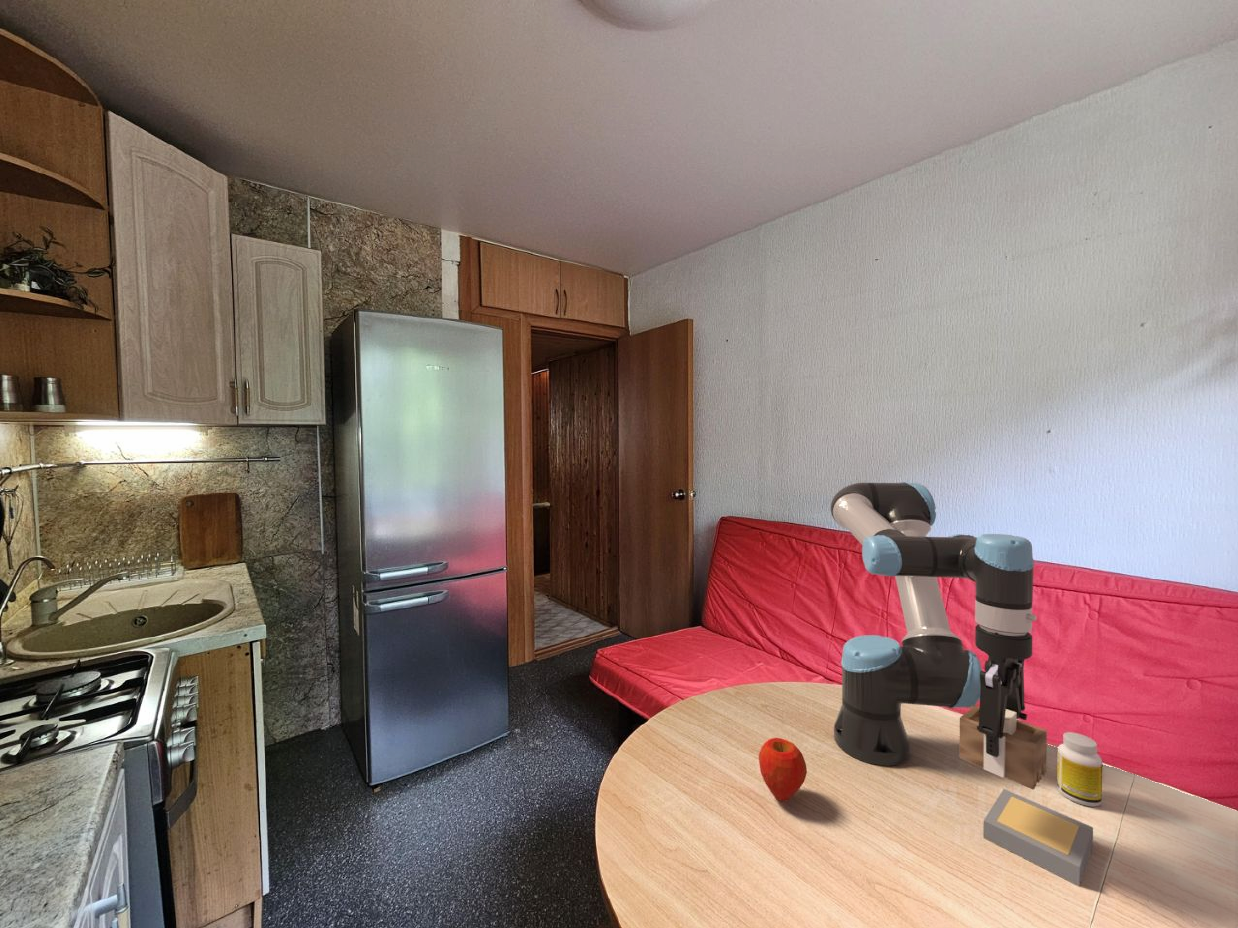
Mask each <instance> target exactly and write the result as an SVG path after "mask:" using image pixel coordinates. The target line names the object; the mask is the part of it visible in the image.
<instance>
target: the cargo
mask: <svg viewBox="0 0 1238 928" xmlns="http://www.w3.org/2000/svg"><path fill="white" fill-rule="evenodd" d="M1016 716H1017V712H1014V711H1011V710H1008V709H1006V712H1005V720H1004V729H1003V732H1005V733H1008V734H1010V735H1013V733H1014V732H1015V731H1016Z"/></svg>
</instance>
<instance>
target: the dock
mask: <svg viewBox="0 0 1238 928" xmlns="http://www.w3.org/2000/svg"><path fill="white" fill-rule="evenodd" d="M982 834H983V836H982V837H983V839H985V840H987V841H989V842H991V843H992V844H995V845H996V846H999V847H1000V848H1002V849H1005V850H1007V851H1009V852H1010V853H1012V854H1015V855H1017V856H1019V857H1021V858H1022V859H1025V860H1027V861H1028V862H1031V864H1032V863H1033V864H1035V865H1036V866H1038V867H1041V868H1042V869H1044V870H1046V871H1048V872H1050V873H1052V874H1054V875H1055V876H1058V877H1059V878H1061V879H1064V880H1065V881H1068V882H1070V883H1072V884H1073V885H1076V886H1078V887H1080V885H1081V883H1082V879H1083V876H1084V874H1085V870H1086V866H1087V864H1088V860H1089V857H1090V854H1091V852H1092V848H1093V846H1094V845H1093V844H1094V827H1093V826H1091V825H1089V824H1086V823H1084V822H1081V821H1079V820H1078V819H1075V818H1073V817H1070V816H1068V815H1065V814H1063V813H1060V812H1059V811H1057V810H1054V809H1051V808H1049V807H1047V806H1044V805H1042V804H1040V803H1037V802H1035V801H1033V800H1031V799H1029V798H1026V797H1023V796H1021V795H1019V794H1017V793H1015V792H1012V791H1010V790H1008V789H1005V788H1003V789H1002V791H1001V792H1000V793H999V796H998V797H997V799H996V800H995V802H994V803H993V805H992V807H991V808H990V810H989V811H988V813H987V815H985V817H984V819H983V832H982Z"/></svg>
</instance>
